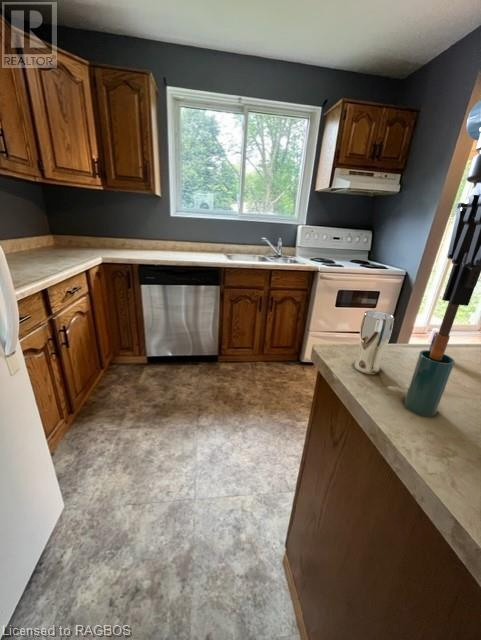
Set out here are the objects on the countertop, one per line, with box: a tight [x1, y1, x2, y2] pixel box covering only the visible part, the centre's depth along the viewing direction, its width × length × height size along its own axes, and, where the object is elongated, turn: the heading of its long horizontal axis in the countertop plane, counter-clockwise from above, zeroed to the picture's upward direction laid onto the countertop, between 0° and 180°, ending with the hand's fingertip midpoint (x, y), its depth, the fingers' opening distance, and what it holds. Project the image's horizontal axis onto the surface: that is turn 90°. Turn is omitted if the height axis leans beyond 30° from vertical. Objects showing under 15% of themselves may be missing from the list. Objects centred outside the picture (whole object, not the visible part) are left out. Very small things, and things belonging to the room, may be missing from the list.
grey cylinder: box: [428, 332, 450, 351], centre depth 78 cm, size 4×4×7 cm
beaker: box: [404, 349, 456, 417], centre depth 55 cm, size 6×6×12 cm
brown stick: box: [430, 253, 469, 361], centre depth 49 cm, size 2×2×20 cm
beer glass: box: [354, 310, 395, 375], centre depth 69 cm, size 7×7×15 cm
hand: (454, 302), depth 49 cm, fingers closed on brown stick, 2 cm apart
